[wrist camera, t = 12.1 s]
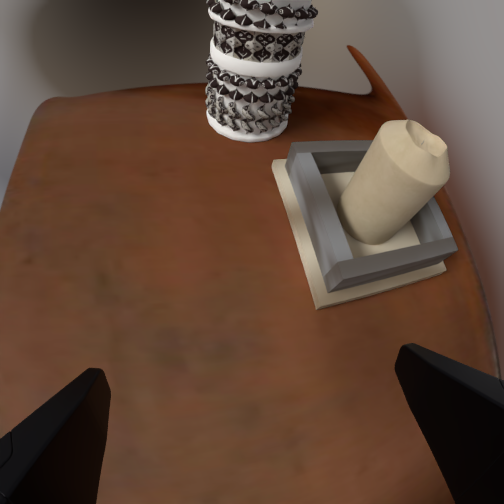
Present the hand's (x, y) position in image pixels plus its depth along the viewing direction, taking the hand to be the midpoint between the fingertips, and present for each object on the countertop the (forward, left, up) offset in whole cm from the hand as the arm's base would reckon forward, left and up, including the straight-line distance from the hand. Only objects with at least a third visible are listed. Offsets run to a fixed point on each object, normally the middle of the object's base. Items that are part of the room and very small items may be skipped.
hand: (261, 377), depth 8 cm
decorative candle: (+24, -6, -12) cm, 28 cm away
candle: (+10, -13, -11) cm, 20 cm away
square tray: (+10, -13, -12) cm, 20 cm away
